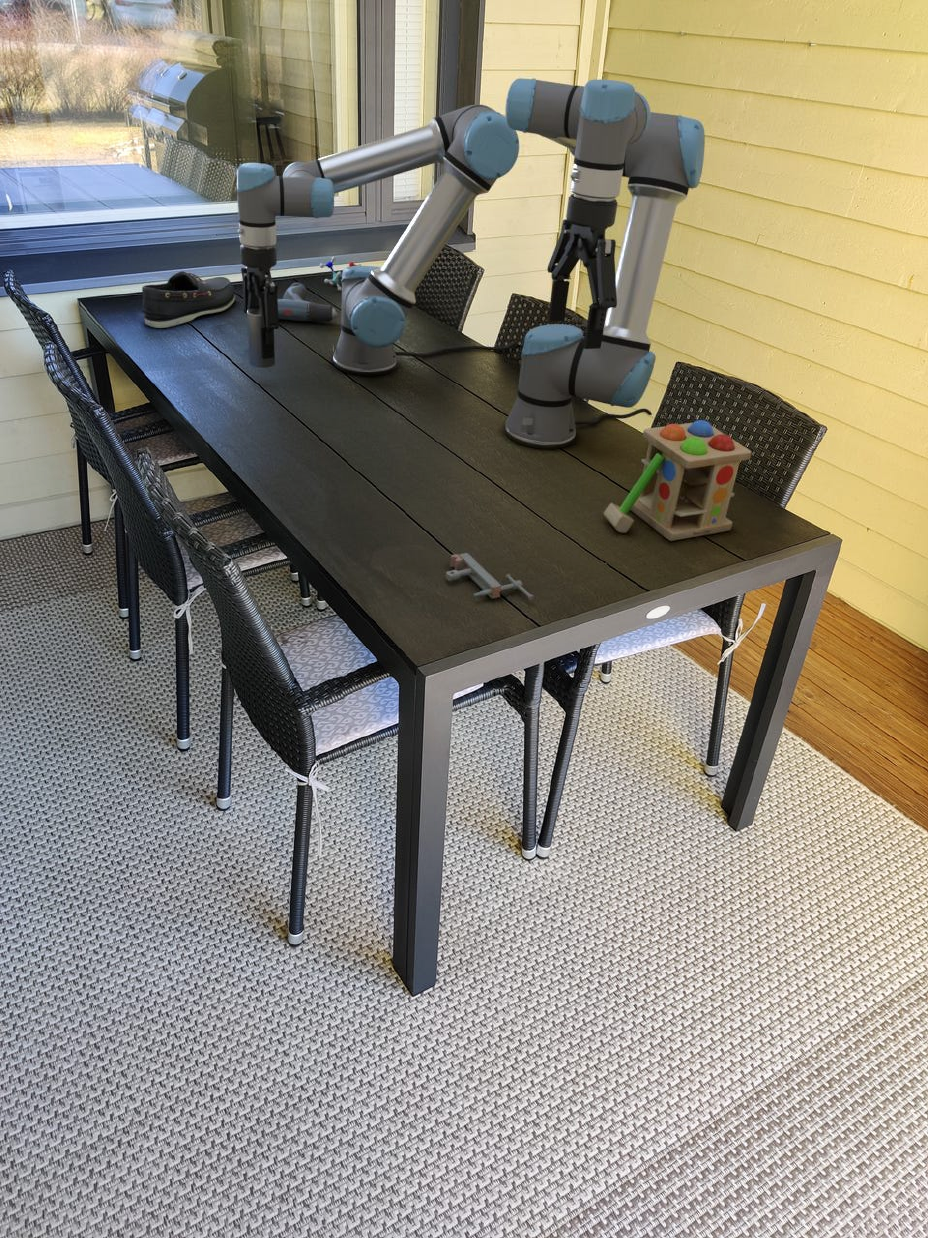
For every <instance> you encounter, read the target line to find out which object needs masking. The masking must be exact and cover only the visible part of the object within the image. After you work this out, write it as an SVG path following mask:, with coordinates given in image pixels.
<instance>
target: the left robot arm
mask: <svg viewBox="0 0 928 1238" xmlns="http://www.w3.org/2000/svg"><path fill="white" fill-rule="evenodd" d="M519 154H520V138H519V135H518V133H517V130H513V129H511V128H510V127H509V126H508V124H507V122H506V116H505V115H503V114H501V113H500V112H498V111H496V110H495V109H493V108H492V107H491V106H487V105H486V104H479V103H478V104H471V105H466V106H464V107H461V108H457V109H455V110H452V111H449V112H447V113H444V114H441V115H438V116H435V117H432V118H431V119H430V122H429V123H428V124H426V125H424V126H421V127H420V126H419V127H417V128H413V129H411V130H408V131H404V132H401V133H398V134H394V135H392V136H389V137H388V136H387V137H384V138H380V139H378V140H375V141H372V142H369V143H365V144H362V145H358V146H355V147H353V148H349V149H346V150H342V151H339V152H336V153H333V154H329V155H327V156H323V157H320V158H318V159H314V160H313V159H312V160H310V161H307V162H302V161H294V162H292V163H290V164H289V165H287V166H286V168H285V169H284V171H283V174H282V176H279V175H276V173H275V169H274V167H273V166H272V165H270V164H267V163H260V162H246V163H242V164H240V165H239V166H238V167H237V170H236V197H237V199H236V200H237V214H238V215H237V217H238V229H237V234H238V235H239V243H240V246H239V258H240V259H239V260H240V263H241V265H243V266H244V267H241V268H240V272H241V278H242V304H243V305H242V307H243V308H242V309H243V313H244V314H247V310H248V309H251V308H258V307H260V313H261V320H262V328H260V331H261V351H262V359H268V358H275V359H276V355H275V356H274V347H275V330H278V329H279V328H280V323H279V322H280V321H279V320H280V319H278V299H279V298H278V291H279V284H278V282H277V281H275V282H273V279H272V273H271V269H272V268H273V267H275V266H276V265H277V263H278V260H277V247H276V246H275V245H276V244H277V222H276V217H294V218H295V217H296V218H315V219H321V218H331V217H332V216H333V214H334V211H335V194H338V193H342V192H345V191H348V190H351V189H355V188H357V187H362V186H364V185H368V184H371V183H374V182H377V181H381V180H384V179H387V178H391V177H394V176H398V175H400V174H405V173H407V172H410V171H414V170H416V169H420V168H424V167H427V166H430V165H433V164H436V163H440V165H442V166H443V170H442V172H441V174H440V176H439V177H438V179H437V180H436V182H435V183H434V185H433V186H432V187H431V189H430V191H429V192H428V194H427V196H426V197H425V199H424V200H423V202H422V204H421V205H420V207H419V209H418V210H417V212H416V213H415V215H414V217H413V218H412V219H411V221H410V222H409V224H408V225H407V227H406V229H405V230H404V232H403V234H402V235H401V236H400V239H399V240H398V242H397V243H396V245H394V248H393V250H392V251H391V252H390V254H389V256H388V257H387V259H386V261H384V264H383V265H382V266H376V265H375V266H373V265H361V266H350V267H349V266H347V267H345V268H344V269H343V270H342V272H341V275H342V277H341V279H340V282H341V288H342V290H341V319H340V321H341V324H340V325H341V326H340V329H341V330H340V336H339V338H338V341H337V344H336V348H335V347H334V345H332V351H333V361H332V362H333V363H332V364H333V366H334V367H335V368H337V369H338V370H339V371H342V372H344V373H347V374H352V375H356V376H380V375H381V376H382V375H386V374H389V373H391V372H393V371H395V369H396V368H397V361H398V359H397V357H398V356H399V357H414V358H428V357H432V356H436V355H438V354H441V353H442V354H443V353H445V352H451V351H454V352H455V351H465V350H480V351H491V352H501V351H507V350H509V349H511V348H512V347H514V346H516V345H517V347H521V348H522V346H520V345H518V344H515V345H514V343H513V341H511V342H510V343H508V344H507V345H505V346H488V345H487V346H486V345H457V346H447V347H442V348H438V349H436V350H435V349H434V350H432V351H428V352H410V351H395V347H394V344H395V343H396V342H397V341H398V340H399V339H400V338H401V337H402V336H403V333H404V331H405V327H406V318H407V316H408V315H409V313H410V312H411V310H412V308H413V307H414V306H415V304H416V303H417V301H416V295H415V292H416V290H417V288H418V286H420V284H421V282H422V281H423V279H424V277H425V276H426V275H427V273H428V272H429V270H430V268H431V267H432V266H433V264H434V262H435V261H436V260H437V258H438V257H439V255H440V253H441V252H442V250H443V248H444V247H445V245H446V244H447V243H448V241H449V239H450V238H451V236H452V235H453V233H454V232H455V231H456V229H457V227H458V226H459V224H460V223H461V222H462V220H463V218H464V216H465V215H466V214H467V212H468V210H469V209H470V207H471V206H472V205H473V203H474V201H475V200H476V198H477V197H478V196H480V195H485V194H487V193H489V192H490V191H491V189H492V187H493V186H494V184H495V183H496V182H497V180H498V179H500V178H502V177H504V176H505V175H507V174H508V173H509V172H510V171H511V170H512V169H513V167H515V164H516V163H517V160H518V158H519ZM334 348H335V350H334Z"/></svg>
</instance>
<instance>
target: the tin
mask: <svg viewBox="0 0 928 1238" xmlns="http://www.w3.org/2000/svg"><path fill="white" fill-rule="evenodd" d="M246 319H247V320H246V321H247V338H248V339H247V340H248V361H249V362H248V363H249V365H250V366H252V367H255V368H271V367H274V365H275V364H276V355H275V354H276V352H275V350H276V349H275V346H274V356H275V358H268V359H262V351H261V331H260V328H262V320H261V313H260V307H258V308H251V309H248V310H247V313H246Z"/></svg>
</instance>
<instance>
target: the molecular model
mask: <svg viewBox="0 0 928 1238" xmlns="http://www.w3.org/2000/svg"><path fill="white" fill-rule="evenodd" d="M335 261H336V256H332V257H331V260H330V261H328V262H327V263H322V262H321V263H319V267H320V268H321V269H323V268H325V267H327V268H328V269H330V270H331V272H332V279H328V278H325V279H324V284H328V283H329V284H330V286H334V285H336V287H337V291H338V292H342V286H340V284H339V281H340V280H339V278H342V272H341V271H338V272H337V273H336V272H335V270H334V268H333V267H334V264H333V263H334V262H335ZM350 266H362V264H360V263H358V264H355V263H354V262H349V263H348V267H350Z"/></svg>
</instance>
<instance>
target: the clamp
mask: <svg viewBox="0 0 928 1238" xmlns="http://www.w3.org/2000/svg"><path fill="white" fill-rule="evenodd" d="M449 564H450V565H449V566H450V568H454V569H452V570H448V571H445V579H446V580H447V581H449V582H451V581H455V580H459V579H461V577H465V576H468V577H469V578H470V579H471V580H472V581H473V582H474V583H475V584H476V585H477V586H478V587H479V588H480V589H481V590H480V591H478V592H474V593H473V594H472V596H473V598H475V597H484V596H489V598H490V599H498V598H500V597H501V594H500V592H503V591H507V590H511V589H512V590H515V591H516V590H518V589H519V590H520V591H521V592H522V593H523V594H524V595H525V596H526V597H527V599H528V600H529V601H532V600H533V599H534V597H535V596H534V595H533V594H531V593H530V592H528V591H527V590H526V589H525V588H524V587H523V582H522V581H521V580H520V579H519V580H515V579H513V577H512V575H511V574H510V573H508V574H506V575H505V579H506V580H509V581H510V582H511V583H509V584H505V585H501V584H500V582H498V581H497V580H496V579H495V578H494V577H493V575H491V574H490V573H489V572H488V571H487V570H486V569H485V568H484V567H483V566H482V565H481V564H480V563H479V562H477V560H475V558H473V557H472V556H471V554H469V553H468V552H464V553H461V554H458V553H456V554H451V556H450V563H449Z"/></svg>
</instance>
